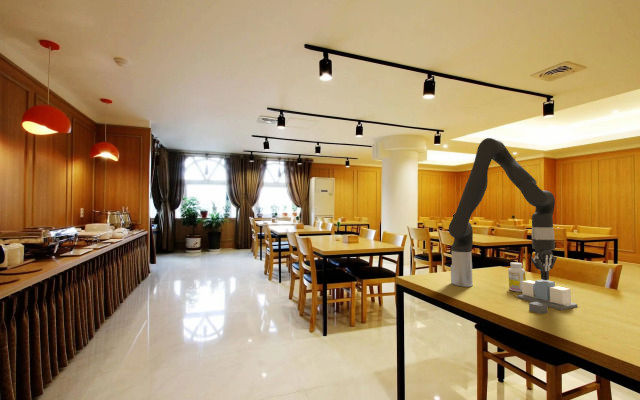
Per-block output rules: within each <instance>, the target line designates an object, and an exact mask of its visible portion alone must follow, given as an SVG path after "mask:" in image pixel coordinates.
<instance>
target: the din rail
mask: <svg viewBox="0 0 640 400" xmlns="http://www.w3.org/2000/svg"><path fill="white" fill-rule="evenodd" d="M535 281H536V280H530V279H529V280H526V281H522V292H521V294H517V295H516V298H517V299H520V300H524V301H527V302H530V303H531V302H539V303H543V304H546V305H547V308H548V307H549V308H552V309H556V310H559V311H563V310H564V311H565V310H569V309H573V308H578V307H579V306H578V303H575V302H572V296H571V295H572V292H571V288H567V287H562V286H559V285H558V286H555V287H550V300H548V301H547V300H543V299H539V298H536V292H535Z"/></svg>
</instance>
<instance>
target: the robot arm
mask: <svg viewBox="0 0 640 400" xmlns="http://www.w3.org/2000/svg"><path fill="white" fill-rule="evenodd" d="M475 154H476V155H475V156H474V160H473V161H474V162H473V165H472V168H471V171H470V174H469V176H468V178H467V181H466V183H465V185H464V189H463V191H462V195H461V196H460V200H459V203H458V205H457V208H456V211H455V213H454V215H453V217H452V219H451V221H450V223H449V224H448V233H449V235H450V236H451V237H452V238H453V243H452V245H451V264H450V283H451V284H452V285H454V286H457V287H464V288H466V287H473V286H474V285H473V261H472V260H473V258H472V247H473V245H474V244H473V238H474V236H473V235H474V232H473V226H472V224H471V222H470V220H471V217H472V214H473V213H474V211H475V210H476V209H477V208H478V206H479V205H480V203H481V202H482V200H483V198H484V196H485V194H486V191H487V188H488V182H489V181H488V180H489V179H488V174H489V173H488V172H489V168H490V165H491V162H492V161H494V162H495V163H497V164H498V165H499V166H500V167H501V168H502V169H503V171H504V172H505V175H506V176H507V177H508V179H509V181H511V182H512V184H513V185H515V187H516V188H517V189H518V190H519V192H520V193H521V194H522V196H523V198H524V199H525V201H526V202H527V203H528V204H529V205H531V206H533V207H535V211H534V213H533V214H532V215H531V246H532V247H531V248H532V249H533V250H535V251H534V257H531V258H530V260H531V262H532V264H533V265H534V268H536V270H538V271H540V278H541V279H540V280H548V281H550V272H549V271H550V270H552V269H554V265H555V264H556V262H557V259H558V256H556V255H555V256H554V255H553V253H554V252H553V251H554V250H556V243H555V239H556V238H555V229H554V217H553V216H554V212H555V211H554V210H555V205H556V199H555V196H554V194H553V193H552V192H551V191H549V190H544V189H543V190H542V189H541V188H540V187H539V186H538V185H537V182H538V181H537V180H536V178H534V177H533V175H531V174H530V173H529V172H528V171H527V170H526V169H525V168H524V167H523V166H522V165H521V164H520V163H519V162H518V161H517V160H516V159H515V158H514V157H513V155H512V154H511V153H510V151H509V149H508V148H507V147H506V145H505V144H504V143H503V142H502V141H501V140H499V139H495V138H492V137H486V138H484V139H482V140H481V142H480V143H479V145H478V146H477V150H476V153H475Z"/></svg>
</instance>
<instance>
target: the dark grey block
mask: <svg viewBox="0 0 640 400" xmlns="http://www.w3.org/2000/svg"><path fill="white" fill-rule="evenodd" d="M528 309H529V311H530V312H533V313H535V314H539V315H541V314H542V315H543V314H547V313H548V312H549V311H548V306H547V305H546V304H543V303H539V302H531V301H530V302H529V303H528Z"/></svg>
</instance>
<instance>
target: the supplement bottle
mask: <svg viewBox="0 0 640 400" xmlns="http://www.w3.org/2000/svg"><path fill="white" fill-rule="evenodd" d="M509 264H510V267H509V268H508V270H507V273H508V288H509V290H510V291H512V292H517V293H522V281H527V280H526V270H525V269H524V268H522V267H523V263H522V262H516V261H515V262H513V261H511V262H510V263H509Z"/></svg>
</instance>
